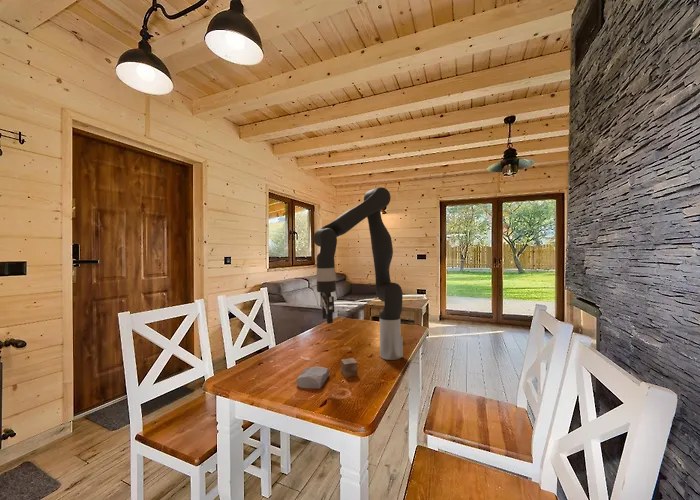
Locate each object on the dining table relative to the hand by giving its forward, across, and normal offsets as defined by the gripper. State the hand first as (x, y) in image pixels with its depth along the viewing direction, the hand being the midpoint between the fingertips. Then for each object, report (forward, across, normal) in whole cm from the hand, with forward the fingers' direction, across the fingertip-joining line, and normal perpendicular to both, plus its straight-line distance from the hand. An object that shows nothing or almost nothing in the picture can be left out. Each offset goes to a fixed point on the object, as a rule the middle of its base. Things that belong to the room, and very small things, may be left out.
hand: (327, 320), depth 112 cm
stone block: (+20, -6, +8) cm, 22 cm away
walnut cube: (+20, -4, -7) cm, 22 cm away
